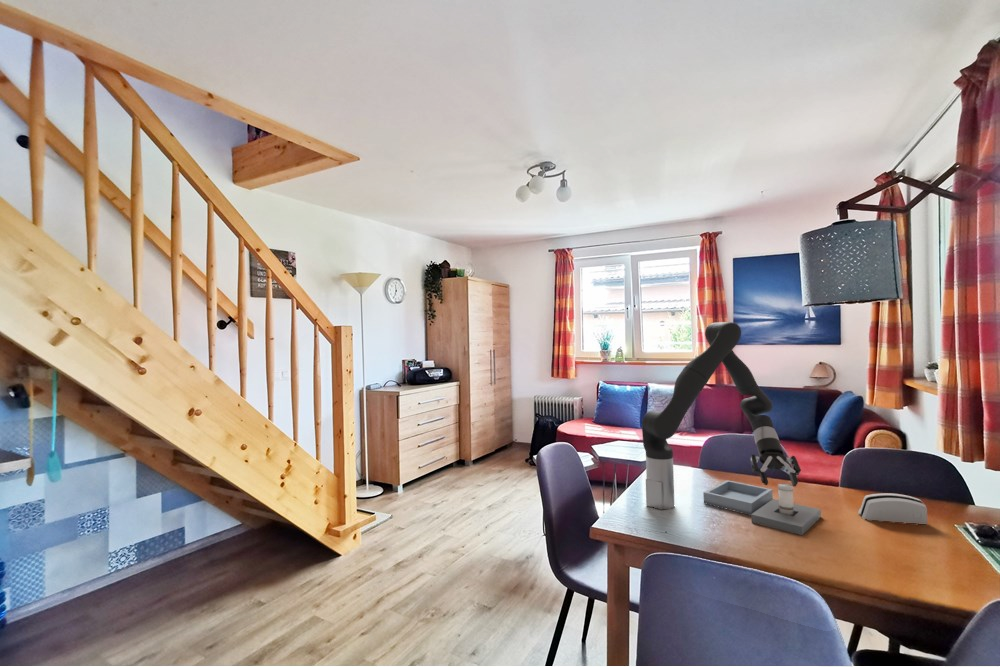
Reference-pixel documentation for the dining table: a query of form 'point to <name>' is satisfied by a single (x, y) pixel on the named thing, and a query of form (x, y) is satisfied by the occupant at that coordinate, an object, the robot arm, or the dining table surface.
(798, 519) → the block
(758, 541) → the dining table surface
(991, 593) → the dining table surface
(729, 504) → the parts tray
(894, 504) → the grey grooved half-disc
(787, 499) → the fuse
